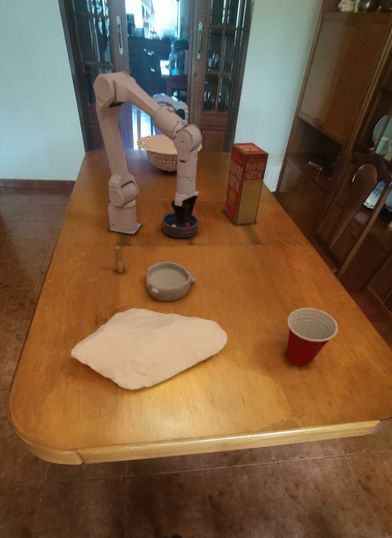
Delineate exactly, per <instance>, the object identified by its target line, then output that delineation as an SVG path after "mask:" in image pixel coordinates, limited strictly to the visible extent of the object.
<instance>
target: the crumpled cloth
mask: <svg viewBox="0 0 392 538" xmlns="http://www.w3.org/2000/svg"><path fill="white" fill-rule="evenodd" d="M228 340H229V337H228V334H227V333H226V331H225V330H224V329H223V328H222V327H221V325H220V324H219V323H218V322H217V321H215V320H212V319H206V318H202V317H199V316H185V315H181V314H178V313H172V312H169V313H163V312H158V311H153V310H150V309H146V308H140V307H139V308H138V307H133V308H129V309H128V310H125V311H121V312H116V313H115V314H113V316H111V317H110V318H109V320H108V321H107V322H105V323H103V324H102V325H100V326H99V327H98V328H97V330H95V331H94V332H93V333H91V334H89V335H88V336H87V337H85V338H84V339H82V340H81V341H79V342H78V343H77V344H75V345H74V347H73V348H72V349H71V352H70V356H71V358H74V359H75V360H77V361H79V362H80V363H81V364H83V365H87V366H89V367H90V369H91V370H93V371H94V372H96V373H98V374H99V375H101V376H102V377H104V378H108V379H110V380H111V381H112V382H113V383H115V384H117V385H118V386H119V387H120V388H122V389H125V390H129V391H134V390H135V391H136V390H140V389H143V388H151V387H152V386H154V385H158V384H159V383H161V382H164V381H167V380H169V379H170V378H173V377H174V376H176V375H178V374H179V373H181V372H184V371H185V370H186V369H189V368H191V367H193V366H195V365H196V364H198V363H200V362H203V361H205V360H207V359H209V358H210V357H212V356H215V355H217V354H218V353H219V352H221V351H222V350H223V349H224V348H225V347H226V345H227V343H228Z"/></svg>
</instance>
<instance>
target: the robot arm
mask: <svg viewBox="0 0 392 538" xmlns="http://www.w3.org/2000/svg"><path fill="white" fill-rule="evenodd" d="M92 87H93V92H94V96H95V112H96V115H97V120H98V123H99V128H100V132H101V136H102V140H103V144H104V149H105V152H106V158H107V161H108V165H109V170H110V174H111V176H110V178H109V180H108V182H107V186H108V199H109V201H110V202H109V204H108V207H107V214H108V221H109V231H112V232H117V233H122V234H123V233H124V234H129V235H135V233H136V232H137V231H138V230H139V229H140V227H141V226H142V224H141V223H138V221H137V220H138V219H137V206H136V203H137V199H138V197H139V196H140V189H139V187H138V185H137V183H136V181H135V176H133V174H131V173H130V172H129V170H128V165H127V160H126V154H125V150H124V149H125V148H124V145H123V140H122V135H121V131H120V126H119V122H118V121H119V120H118V116H117V114H118V112H119V111H120V109H121V107H122V105H124V104H125V103H132V104H133V105H134V106H136V107H137V108H138V109H139V110H141V111H142V112H143V113H145V114H146V115H148V116H149V117H150V118H152V119H153V120H154V126H155V128H156V129H157V130H159V131H160V132H161V133H162V134H163V135H166V136H167V137H168V138H169V139H171V140H172V141H173V142H174V146H175V148H176V150H177V160H176V162H177V163H176V164H177V166H176V167H177V170H176V189H175V198H174V199H173V200H172V201H171V203H170V206H171V207H172V209H173V212H175V215H176V219H177V224H178V225H183V226H184V224H185V220H186V215H189V216H191V215H193V211H194V208H195V205H196V202H197V199H198V197H199V195H200V191H198V190H196V189H197V168H198V152H199V151H198V149H196V148H198V147H199V146H200V144H201V145H202V141H203V135H202V132H201V130H200V128H199V127H198V126H197V124H194V123H191V124H188V122H189V121H187V120H186V119H183V118H182V117H180V116H179V115H178V114H177V113H176V112H175V109H174V107H172V106H167V105H163V106H160V104H159V103H157V102H156V101H155V99H153V98H152V97H151V96H150V95H149V94H148V93H147V91H145V90H144V89H143V88H142V87H141V86H140V85H139V84H138V83H137V81H136V79H135V77H132V76H130V75H129V73H128V72H126V71H123V70H122V71H121V70H120V71H118V72H109V73H99V74H98V75H97V76H96V78H95V80H94V82H93V84H92ZM199 148H200V147H199ZM194 149H195V150H194Z"/></svg>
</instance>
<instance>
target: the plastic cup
mask: <svg viewBox="0 0 392 538" xmlns="http://www.w3.org/2000/svg"><path fill="white" fill-rule="evenodd" d="M287 327H288V337H287V345H286V346H287V347H286V351H285V353H286V359H287V361H288V362H289V363H290V364H291V365H293V366H296V367H299V368H300V367H301V368H302V367H306V366H308V365H309V364H310V363H311V362H312V361H313V360H314V358H316V357H317V356H318V354H319V353H320V352H321V350H322V349H323V348H324V347H325V346H326V344H328V343H329V341H330V340H332V338H334V337H335V336H336V335H337V333H338V330H339V326H338V323H337V320H335V319H334V317H333V316H332V315H331V314H330V313H327V312H326V311H324V310H321V309H319V308H314V307H300V308H297V309H295V310H293V311H292V312H290V313H289V315H288V316H287Z"/></svg>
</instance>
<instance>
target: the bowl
mask: <svg viewBox="0 0 392 538" xmlns="http://www.w3.org/2000/svg"><path fill="white" fill-rule="evenodd" d="M161 223H162V224H161V228H162V229H161V230H162V232H163V233H164V234H165V235H167V236H169V237H171V238H175V239H188V238H191V237H195V235H197V234H198V232H199V225H200V220H199V217H197V216H196V215H195V214H192V215H191V216H189V215H186V220H185V224H186V223H190V225H191V227H185V224H184V226H183V225H178V224H177V219H176V215H175V212H174V211H173V212H168V213H166V214H164V215H163V216H162V218H161ZM172 225H176V227H173V226H172Z"/></svg>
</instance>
